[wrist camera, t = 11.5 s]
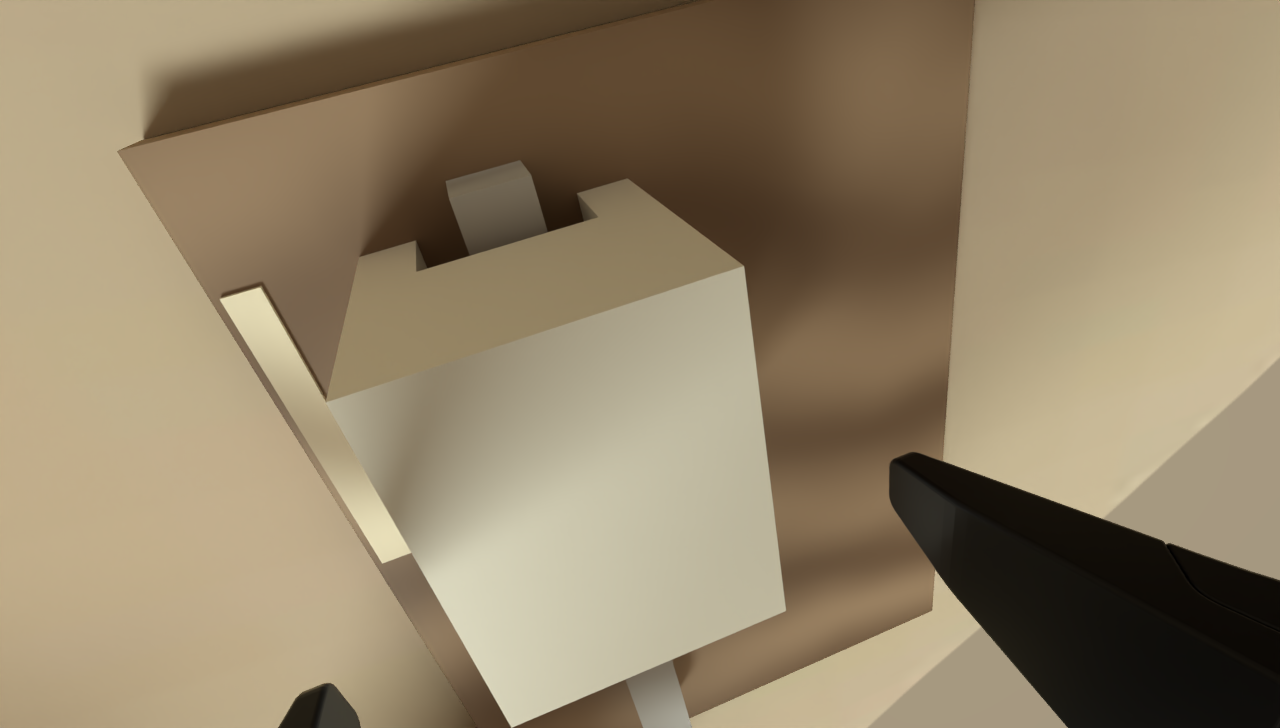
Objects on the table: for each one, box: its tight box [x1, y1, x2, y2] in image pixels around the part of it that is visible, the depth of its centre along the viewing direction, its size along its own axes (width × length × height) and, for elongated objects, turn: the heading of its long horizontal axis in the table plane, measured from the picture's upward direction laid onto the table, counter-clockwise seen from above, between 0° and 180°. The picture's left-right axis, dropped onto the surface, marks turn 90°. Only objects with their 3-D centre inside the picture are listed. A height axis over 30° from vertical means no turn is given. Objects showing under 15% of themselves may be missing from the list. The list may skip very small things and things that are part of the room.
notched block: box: [326, 178, 786, 728], centre depth 13 cm, size 8×6×6 cm
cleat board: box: [117, 0, 975, 728], centre depth 19 cm, size 24×18×3 cm
